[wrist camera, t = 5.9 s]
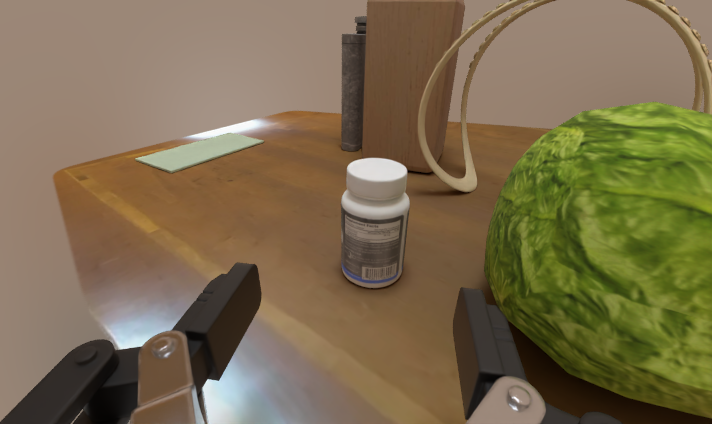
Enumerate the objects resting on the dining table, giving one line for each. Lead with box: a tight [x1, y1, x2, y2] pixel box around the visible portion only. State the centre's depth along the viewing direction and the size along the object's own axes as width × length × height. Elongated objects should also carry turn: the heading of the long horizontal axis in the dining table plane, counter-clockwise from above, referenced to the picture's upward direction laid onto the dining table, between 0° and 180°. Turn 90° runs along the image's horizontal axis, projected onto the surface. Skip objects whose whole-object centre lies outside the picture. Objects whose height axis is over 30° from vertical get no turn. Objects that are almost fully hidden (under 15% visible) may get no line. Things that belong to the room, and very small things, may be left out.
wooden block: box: [362, 0, 465, 173], centre depth 44 cm, size 10×10×20 cm
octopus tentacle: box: [418, 0, 712, 192], centre depth 32 cm, size 22×12×20 cm, turn 51°
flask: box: [342, 16, 367, 151], centre depth 53 cm, size 4×14×18 cm, turn 155°
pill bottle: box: [341, 158, 410, 288], centre depth 24 cm, size 5×5×8 cm
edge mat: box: [135, 133, 264, 173], centre depth 50 cm, size 16×8×1 cm, turn 149°
